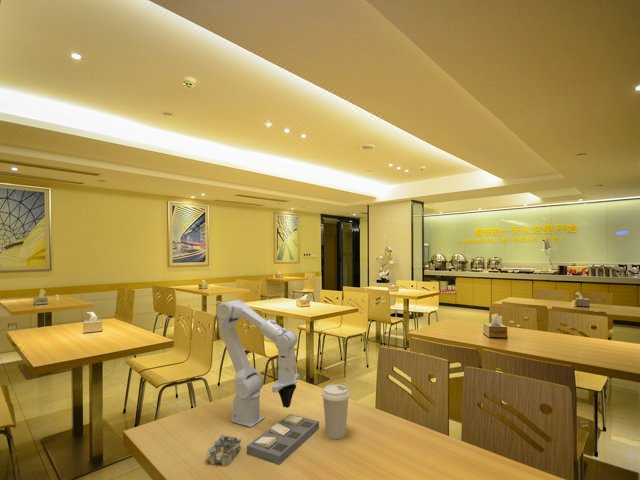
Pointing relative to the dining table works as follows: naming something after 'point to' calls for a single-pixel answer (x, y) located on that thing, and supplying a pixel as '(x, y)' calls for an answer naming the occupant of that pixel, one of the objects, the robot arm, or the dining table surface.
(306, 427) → the grey rocker switch panel
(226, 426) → the dining table surface
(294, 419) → the labelled cream tile
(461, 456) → the dining table surface
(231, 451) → the egg carton
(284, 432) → the rocker middle
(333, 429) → the coffee cup
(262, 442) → the rocker carton end
